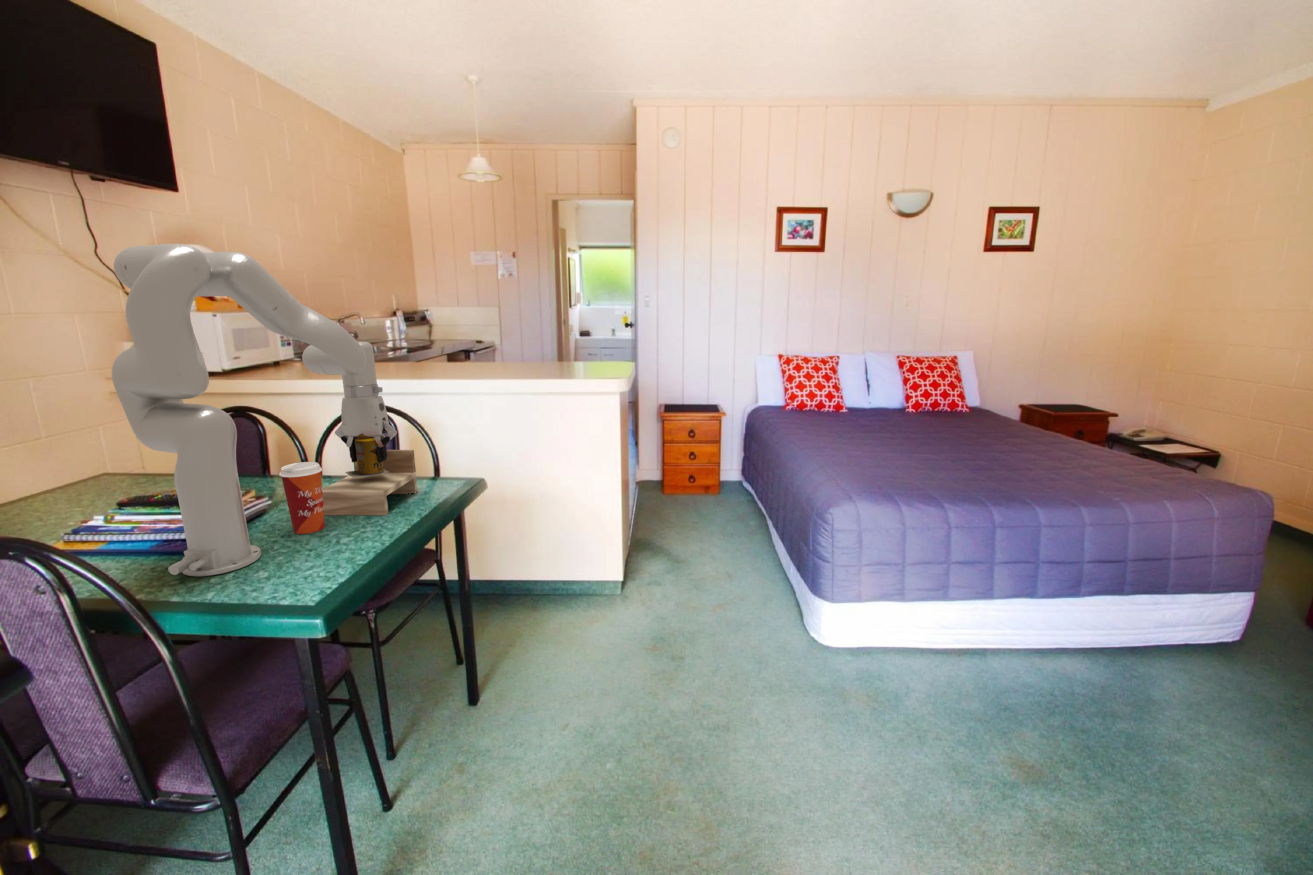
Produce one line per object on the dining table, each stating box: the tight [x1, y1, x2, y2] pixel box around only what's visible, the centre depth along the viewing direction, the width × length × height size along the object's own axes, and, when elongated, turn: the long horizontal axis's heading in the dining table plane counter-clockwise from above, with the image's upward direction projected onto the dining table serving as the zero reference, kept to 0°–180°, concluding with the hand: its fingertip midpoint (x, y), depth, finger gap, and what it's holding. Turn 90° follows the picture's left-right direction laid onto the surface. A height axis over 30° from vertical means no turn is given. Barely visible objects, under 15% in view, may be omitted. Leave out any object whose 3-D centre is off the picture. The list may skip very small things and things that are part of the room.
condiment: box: [345, 433, 389, 479], centre depth 144 cm, size 7×8×12 cm
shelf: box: [322, 449, 419, 516], centre depth 145 cm, size 18×16×12 cm
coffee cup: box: [278, 461, 325, 535], centre depth 127 cm, size 8×8×15 cm
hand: (369, 460), depth 145 cm, fingers closed on condiment, 6 cm apart
